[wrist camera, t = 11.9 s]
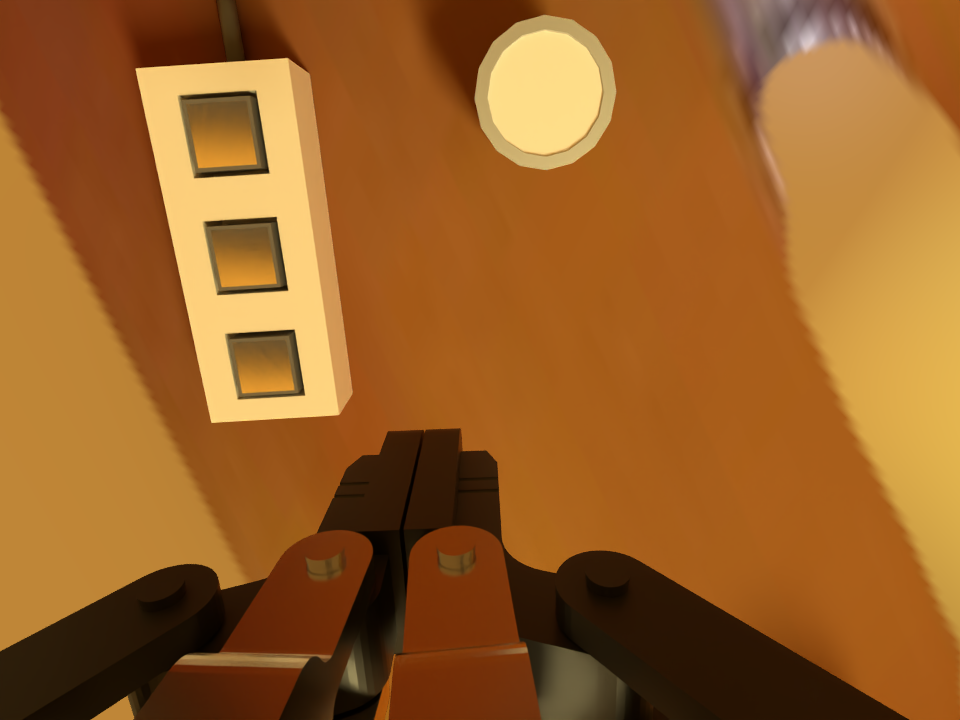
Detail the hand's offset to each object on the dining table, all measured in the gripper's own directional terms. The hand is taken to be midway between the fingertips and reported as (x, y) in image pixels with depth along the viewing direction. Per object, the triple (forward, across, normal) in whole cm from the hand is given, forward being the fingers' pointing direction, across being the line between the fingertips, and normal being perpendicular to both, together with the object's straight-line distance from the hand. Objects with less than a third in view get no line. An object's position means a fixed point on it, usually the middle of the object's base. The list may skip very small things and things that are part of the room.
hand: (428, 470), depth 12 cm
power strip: (+26, +12, -5) cm, 29 cm away
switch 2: (+24, +12, +4) cm, 27 cm away
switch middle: (+24, +12, -2) cm, 27 cm away
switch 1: (+24, +12, -9) cm, 28 cm away
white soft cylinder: (+26, -5, -9) cm, 28 cm away
